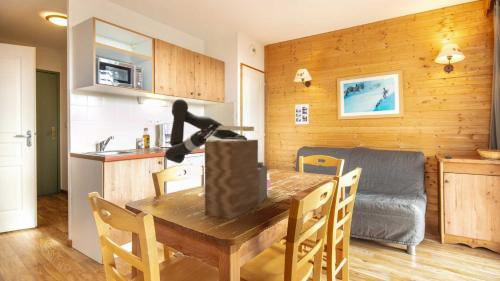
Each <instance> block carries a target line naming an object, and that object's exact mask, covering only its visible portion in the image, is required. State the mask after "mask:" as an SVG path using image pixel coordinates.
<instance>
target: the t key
mask: <svg viewBox="0 0 500 281" xmlns="http://www.w3.org/2000/svg"><path fill="white" fill-rule="evenodd" d="M210 126H212V125H210ZM216 129H217V130H231V131H241V132H242V131H243V132H254V131H255V127H254V126H245V125H244V126H243V125H242V126H240V125H223V126H220V125H219V127H218V128H216Z"/></svg>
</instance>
